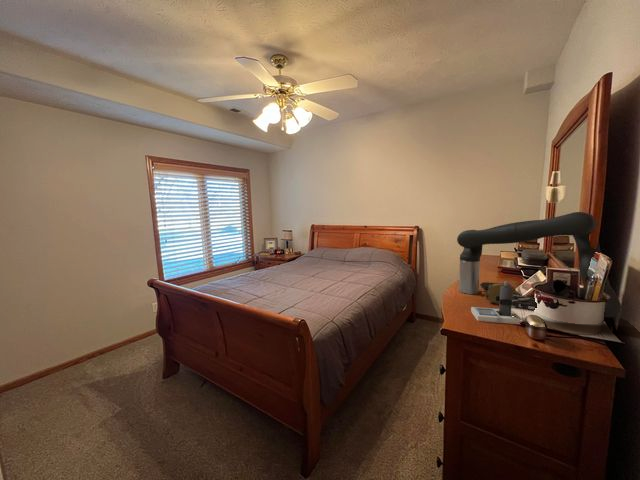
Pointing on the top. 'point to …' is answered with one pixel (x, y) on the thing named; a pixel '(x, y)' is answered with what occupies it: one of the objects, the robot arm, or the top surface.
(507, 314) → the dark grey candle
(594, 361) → the top surface
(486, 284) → the carrying case or bag
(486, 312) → the duct plate
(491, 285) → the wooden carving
